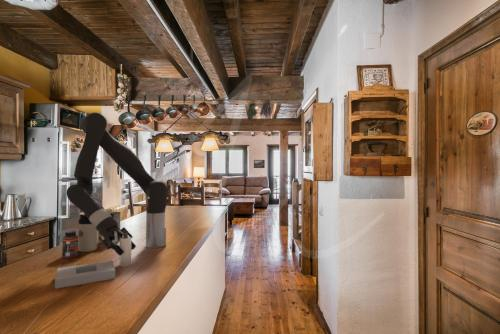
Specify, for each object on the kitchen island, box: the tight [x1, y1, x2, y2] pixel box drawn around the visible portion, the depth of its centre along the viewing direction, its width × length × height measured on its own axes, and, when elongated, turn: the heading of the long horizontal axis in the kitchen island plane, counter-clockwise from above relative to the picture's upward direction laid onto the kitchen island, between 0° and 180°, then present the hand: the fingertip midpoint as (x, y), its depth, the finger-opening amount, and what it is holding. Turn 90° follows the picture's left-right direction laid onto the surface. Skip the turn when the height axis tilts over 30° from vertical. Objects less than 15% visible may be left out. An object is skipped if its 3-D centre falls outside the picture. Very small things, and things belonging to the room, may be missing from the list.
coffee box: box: [97, 210, 121, 245], centre depth 152 cm, size 9×6×16 cm
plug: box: [118, 233, 132, 268], centre depth 117 cm, size 4×4×13 cm
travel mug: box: [78, 211, 98, 253], centre depth 137 cm, size 8×8×18 cm
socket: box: [54, 260, 116, 290], centre depth 103 cm, size 18×12×3 cm, turn 121°
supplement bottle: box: [61, 230, 79, 259], centre depth 127 cm, size 6×6×11 cm
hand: (128, 251), depth 117 cm, fingers open, 8 cm apart
